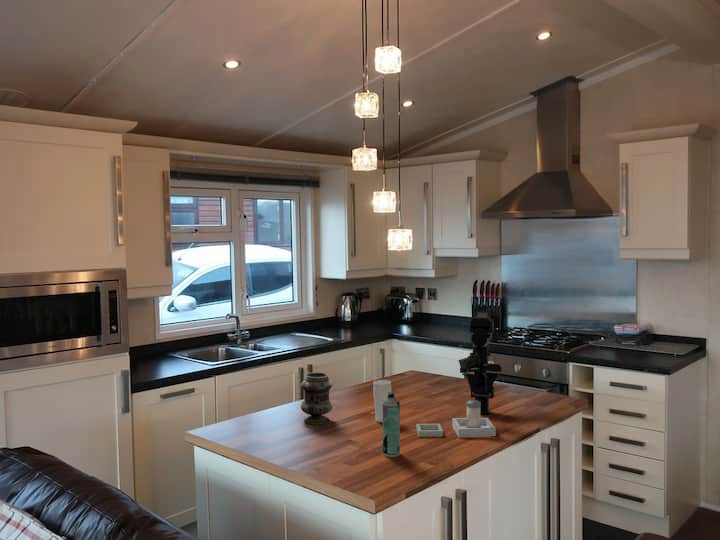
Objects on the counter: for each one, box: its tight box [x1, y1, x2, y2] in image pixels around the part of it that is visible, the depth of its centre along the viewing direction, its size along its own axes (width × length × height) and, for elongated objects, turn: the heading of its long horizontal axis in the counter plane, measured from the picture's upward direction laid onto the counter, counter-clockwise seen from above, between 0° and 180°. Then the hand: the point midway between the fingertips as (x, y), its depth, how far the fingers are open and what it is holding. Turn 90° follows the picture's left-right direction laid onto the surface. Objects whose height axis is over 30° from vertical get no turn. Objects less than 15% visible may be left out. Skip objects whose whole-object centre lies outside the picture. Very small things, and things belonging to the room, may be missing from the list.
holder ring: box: [415, 423, 444, 438], centre depth 223 cm, size 8×8×2 cm
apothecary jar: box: [300, 371, 333, 426], centre depth 237 cm, size 12×12×18 cm
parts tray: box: [452, 417, 497, 439], centre depth 224 cm, size 13×13×3 cm
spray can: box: [382, 391, 401, 458], centre depth 201 cm, size 6×6×20 cm
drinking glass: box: [372, 379, 392, 424], centre depth 237 cm, size 7×7×15 cm
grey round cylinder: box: [466, 399, 481, 428], centre depth 224 cm, size 5×5×10 cm
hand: (480, 392), depth 230 cm, fingers open, 9 cm apart
